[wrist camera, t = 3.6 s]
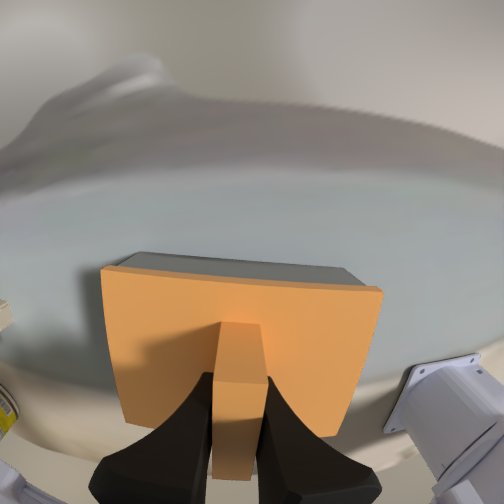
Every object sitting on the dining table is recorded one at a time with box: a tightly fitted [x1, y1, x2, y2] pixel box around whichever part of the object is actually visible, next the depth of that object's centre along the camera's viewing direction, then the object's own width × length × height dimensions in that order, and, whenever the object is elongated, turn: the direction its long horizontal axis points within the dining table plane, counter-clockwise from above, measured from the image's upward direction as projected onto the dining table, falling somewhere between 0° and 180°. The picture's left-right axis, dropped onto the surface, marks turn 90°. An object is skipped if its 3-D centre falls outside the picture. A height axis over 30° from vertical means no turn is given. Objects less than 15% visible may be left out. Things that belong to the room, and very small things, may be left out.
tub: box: [118, 252, 366, 286], centre depth 15 cm, size 12×9×4 cm
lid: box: [101, 265, 384, 481], centre depth 11 cm, size 12×9×6 cm
